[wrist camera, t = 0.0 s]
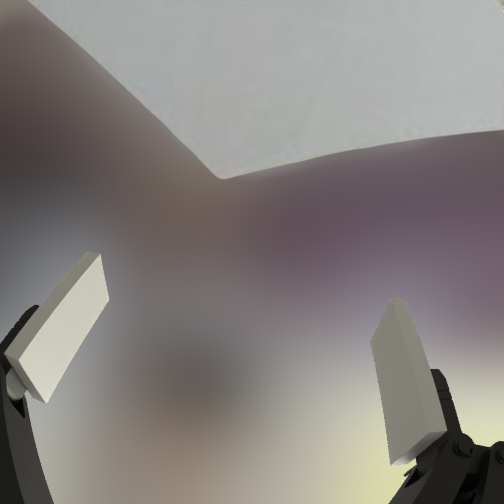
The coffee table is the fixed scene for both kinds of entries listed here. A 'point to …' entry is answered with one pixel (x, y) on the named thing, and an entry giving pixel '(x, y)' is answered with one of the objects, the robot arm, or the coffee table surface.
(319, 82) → the coffee table surface
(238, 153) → the coffee table surface
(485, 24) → the coffee table surface
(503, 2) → the foam cup
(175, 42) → the coffee table surface
